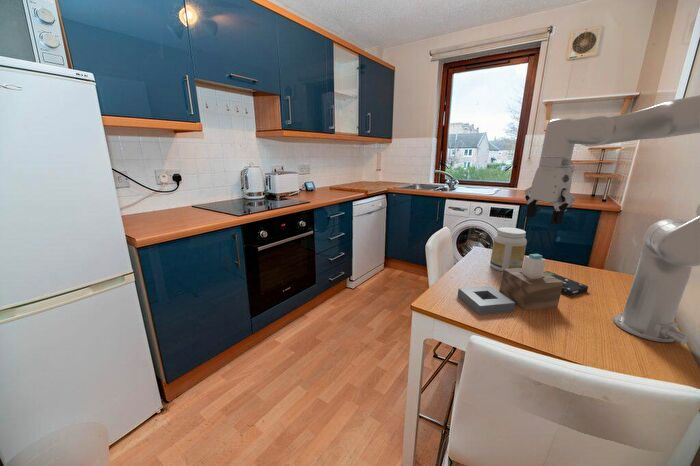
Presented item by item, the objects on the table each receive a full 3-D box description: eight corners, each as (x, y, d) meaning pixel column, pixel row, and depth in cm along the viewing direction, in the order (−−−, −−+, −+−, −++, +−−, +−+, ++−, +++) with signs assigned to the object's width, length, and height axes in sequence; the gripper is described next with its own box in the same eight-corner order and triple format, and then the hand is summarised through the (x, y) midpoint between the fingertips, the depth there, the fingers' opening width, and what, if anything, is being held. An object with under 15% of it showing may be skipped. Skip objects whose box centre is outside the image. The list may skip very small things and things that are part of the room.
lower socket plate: (513, 311, 89) (515, 302, 88) (478, 314, 87) (480, 305, 86) (488, 293, 100) (490, 285, 99) (457, 295, 98) (458, 287, 97)
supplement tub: (521, 266, 125) (528, 229, 120) (521, 276, 115) (529, 235, 110) (490, 260, 131) (496, 225, 126) (488, 269, 121) (494, 231, 116)
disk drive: (587, 293, 103) (546, 276, 116) (589, 286, 102) (547, 270, 115) (569, 298, 99) (528, 280, 112) (571, 291, 98) (530, 274, 111)
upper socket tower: (557, 307, 92) (563, 281, 89) (524, 310, 90) (530, 284, 87) (528, 290, 103) (533, 267, 101) (499, 292, 101) (503, 268, 98)
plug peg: (539, 288, 93) (546, 256, 90) (529, 289, 93) (535, 257, 90) (530, 283, 97) (536, 252, 94) (519, 283, 96) (525, 253, 93)
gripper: (593, 165, 77) (578, 227, 81) (541, 162, 93) (531, 214, 98) (570, 165, 75) (555, 227, 80) (521, 162, 92) (511, 214, 96)
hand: (542, 220), depth 89 cm, fingers open, 9 cm apart
